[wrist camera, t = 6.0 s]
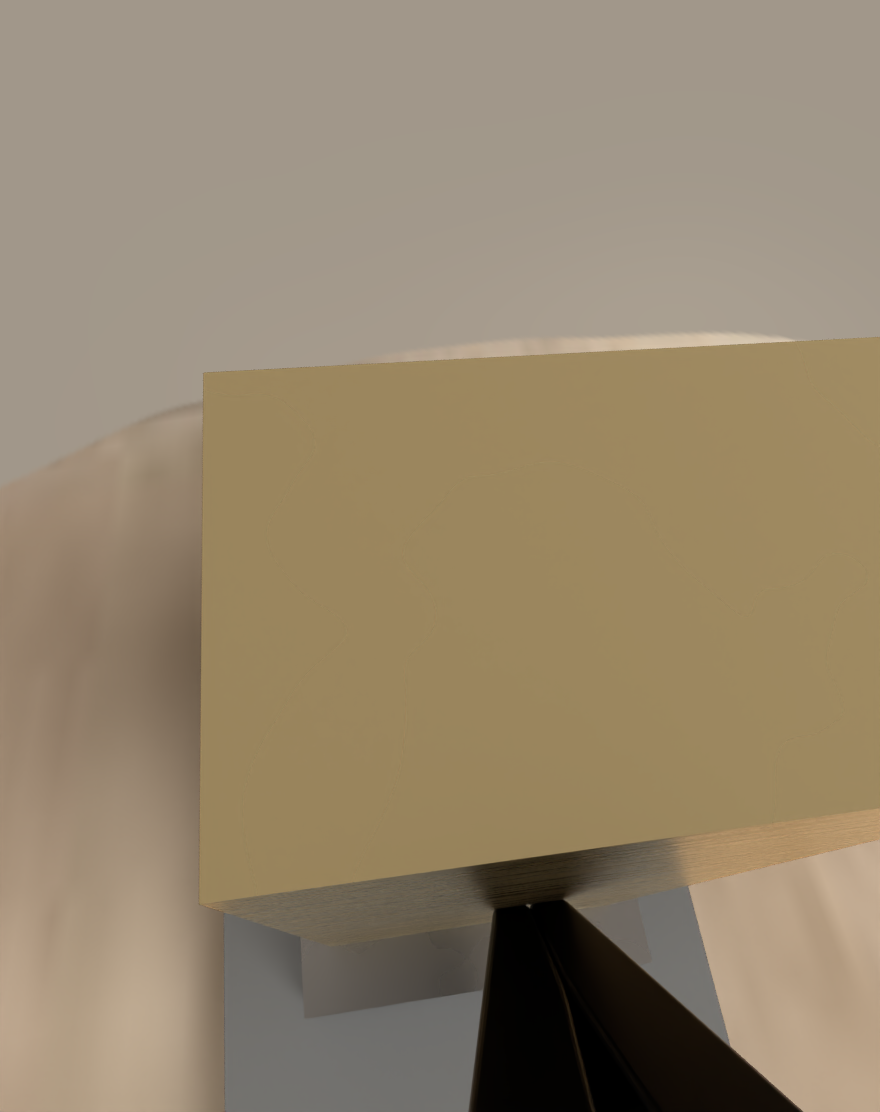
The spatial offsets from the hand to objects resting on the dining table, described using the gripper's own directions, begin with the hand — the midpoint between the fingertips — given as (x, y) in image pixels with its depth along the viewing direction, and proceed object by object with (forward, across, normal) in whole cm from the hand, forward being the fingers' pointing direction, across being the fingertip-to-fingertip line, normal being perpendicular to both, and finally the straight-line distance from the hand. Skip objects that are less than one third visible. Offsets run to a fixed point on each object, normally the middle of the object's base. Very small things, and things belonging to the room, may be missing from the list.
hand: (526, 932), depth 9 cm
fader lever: (+6, 0, +3) cm, 6 cm away
